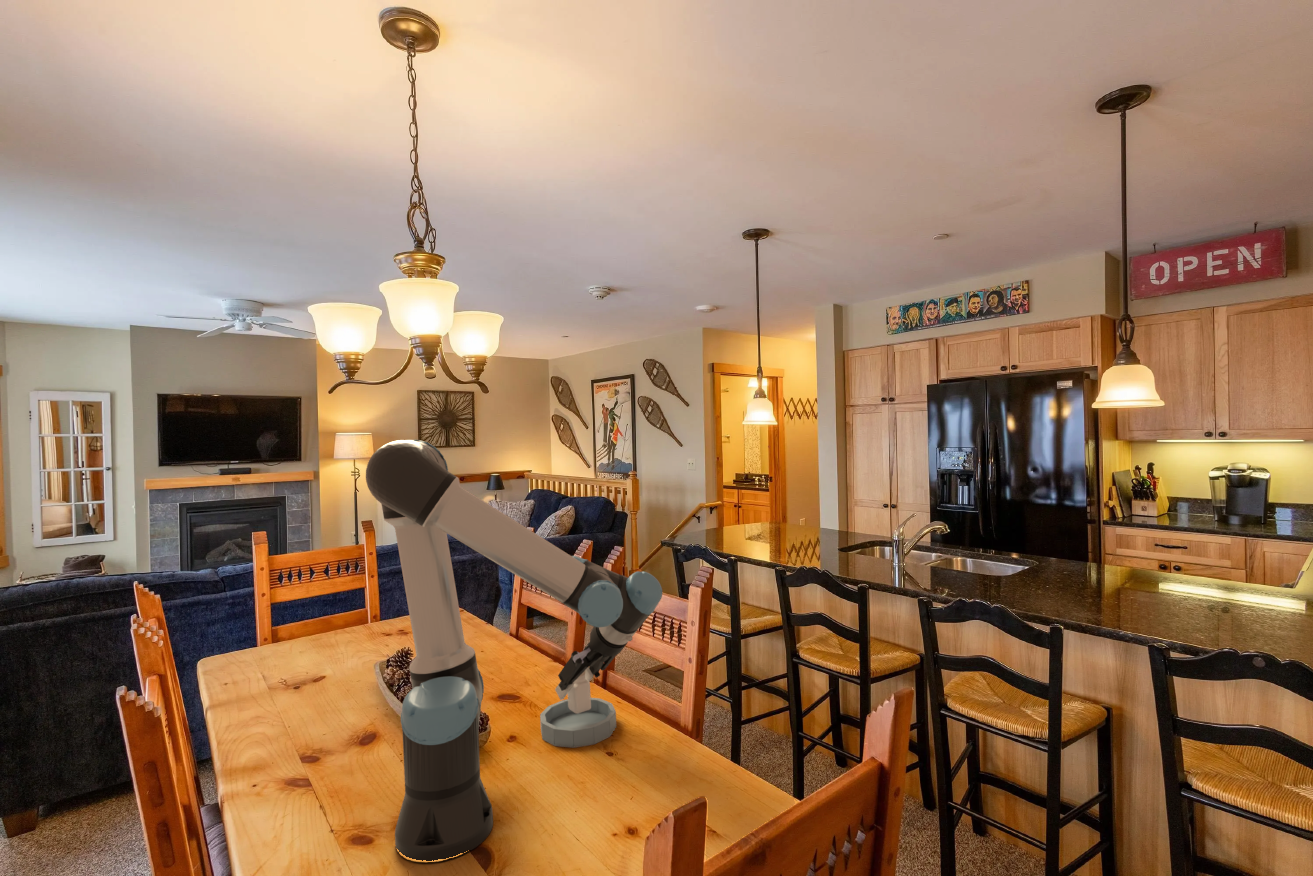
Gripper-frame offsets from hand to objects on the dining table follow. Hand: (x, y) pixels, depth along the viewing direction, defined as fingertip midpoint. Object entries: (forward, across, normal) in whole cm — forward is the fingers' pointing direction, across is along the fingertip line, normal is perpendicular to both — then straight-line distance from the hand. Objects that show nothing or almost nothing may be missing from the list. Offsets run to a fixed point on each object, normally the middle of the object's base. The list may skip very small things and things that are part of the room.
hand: (568, 690), depth 140 cm
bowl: (+3, 0, -8) cm, 8 cm away
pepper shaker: (0, 0, -5) cm, 5 cm away
